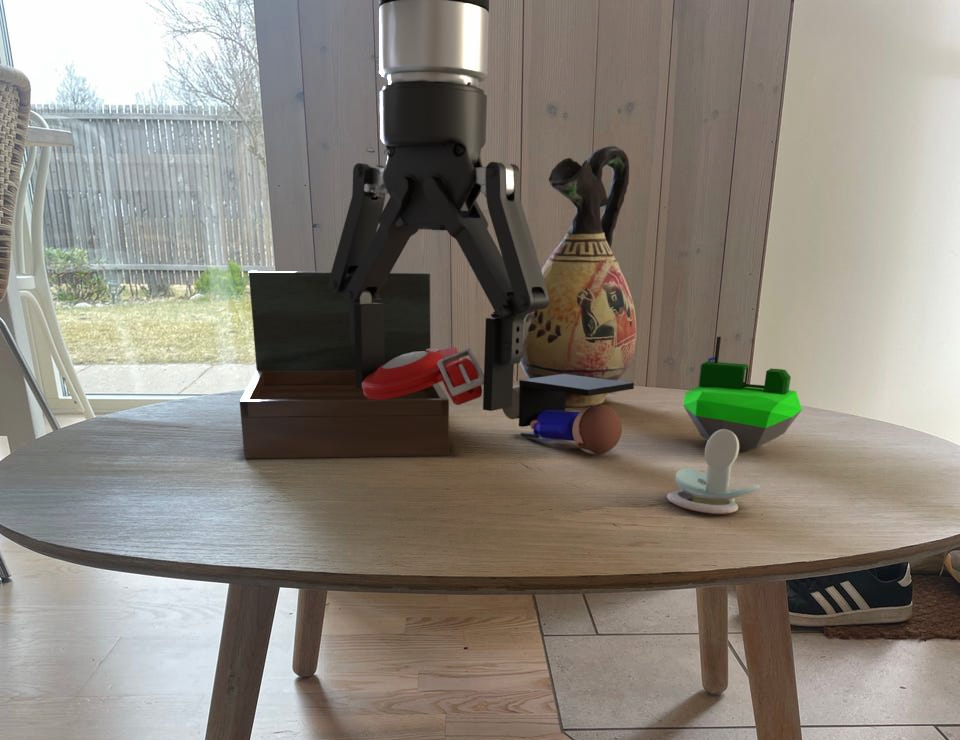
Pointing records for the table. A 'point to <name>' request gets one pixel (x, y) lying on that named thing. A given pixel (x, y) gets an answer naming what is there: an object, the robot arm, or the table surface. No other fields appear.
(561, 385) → the figurine character
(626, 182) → the ceramic jug
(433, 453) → the open wooden box
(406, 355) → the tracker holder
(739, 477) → the table surface
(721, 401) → the toy tugboat
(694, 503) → the pacifier
